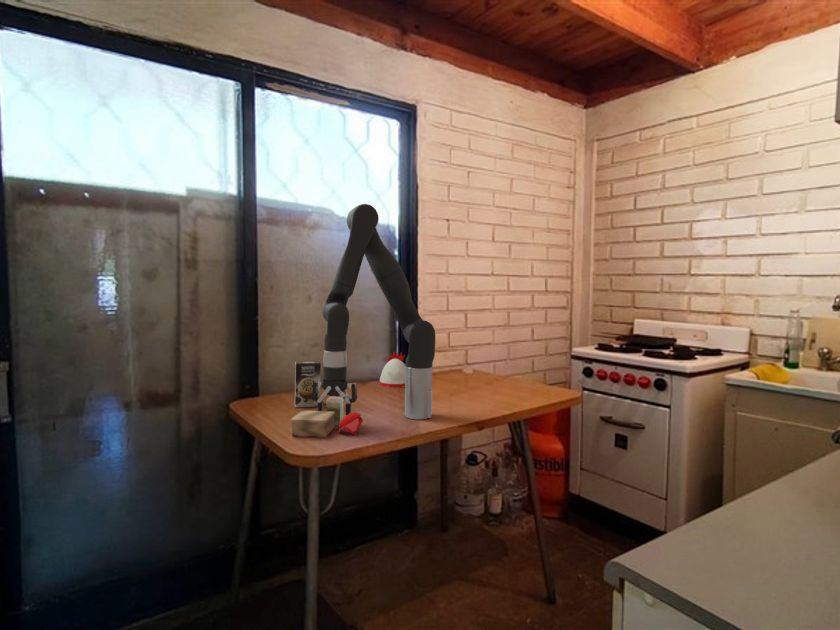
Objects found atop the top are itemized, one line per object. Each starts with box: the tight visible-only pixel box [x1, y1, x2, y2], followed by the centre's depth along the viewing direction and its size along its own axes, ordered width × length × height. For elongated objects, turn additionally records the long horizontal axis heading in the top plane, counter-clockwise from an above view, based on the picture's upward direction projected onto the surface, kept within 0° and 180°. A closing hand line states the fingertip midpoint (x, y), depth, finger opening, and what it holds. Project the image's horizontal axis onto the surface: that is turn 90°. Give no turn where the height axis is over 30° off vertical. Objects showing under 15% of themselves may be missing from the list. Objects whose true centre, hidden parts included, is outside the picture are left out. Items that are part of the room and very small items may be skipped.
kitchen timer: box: [379, 351, 406, 388], centre depth 223 cm, size 14×14×15 cm
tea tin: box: [325, 396, 345, 426], centre depth 160 cm, size 5×5×8 cm
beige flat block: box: [290, 410, 335, 438], centre depth 150 cm, size 11×11×5 cm
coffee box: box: [294, 360, 322, 408], centre depth 183 cm, size 9×6×16 cm
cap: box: [337, 412, 364, 436], centre depth 150 cm, size 8×6×6 cm
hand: (334, 414), depth 160 cm, fingers open, 8 cm apart
